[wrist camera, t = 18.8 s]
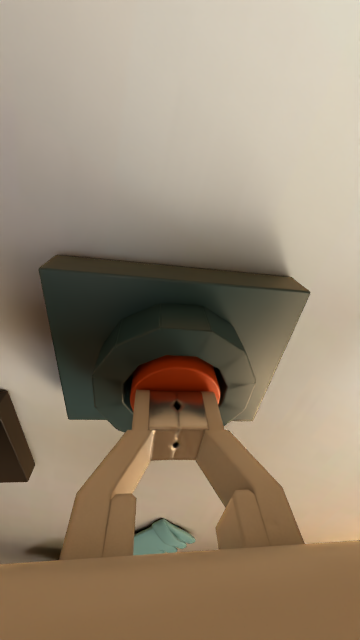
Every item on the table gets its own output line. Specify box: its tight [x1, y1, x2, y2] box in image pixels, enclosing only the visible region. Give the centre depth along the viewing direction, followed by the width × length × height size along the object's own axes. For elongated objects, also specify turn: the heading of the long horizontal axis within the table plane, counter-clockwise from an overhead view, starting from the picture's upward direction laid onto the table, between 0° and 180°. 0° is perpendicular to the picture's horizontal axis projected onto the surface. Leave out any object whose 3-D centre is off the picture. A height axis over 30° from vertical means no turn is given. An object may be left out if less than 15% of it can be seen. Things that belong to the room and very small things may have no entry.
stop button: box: [130, 355, 220, 412], centre depth 10 cm, size 4×4×2 cm
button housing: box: [39, 255, 310, 432], centre depth 11 cm, size 10×8×4 cm
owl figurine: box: [133, 519, 195, 555], centre depth 26 cm, size 28×9×15 cm
